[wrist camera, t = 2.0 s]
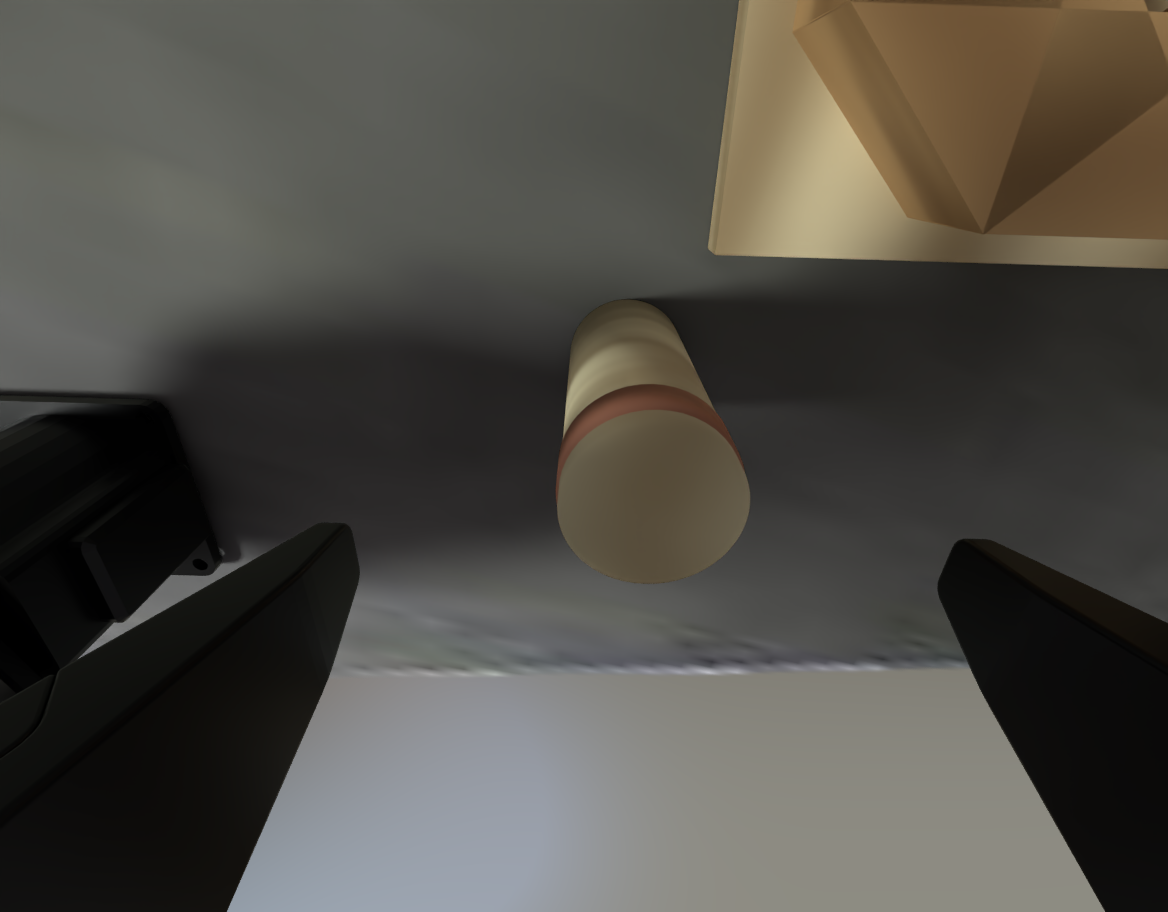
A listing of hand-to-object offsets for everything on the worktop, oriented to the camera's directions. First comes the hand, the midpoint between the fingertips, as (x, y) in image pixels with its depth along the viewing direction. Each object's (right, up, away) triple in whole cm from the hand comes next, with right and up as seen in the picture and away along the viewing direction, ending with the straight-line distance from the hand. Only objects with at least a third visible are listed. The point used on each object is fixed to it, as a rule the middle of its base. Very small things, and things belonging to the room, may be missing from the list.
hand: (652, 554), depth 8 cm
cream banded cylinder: (0, +4, +8) cm, 9 cm away
